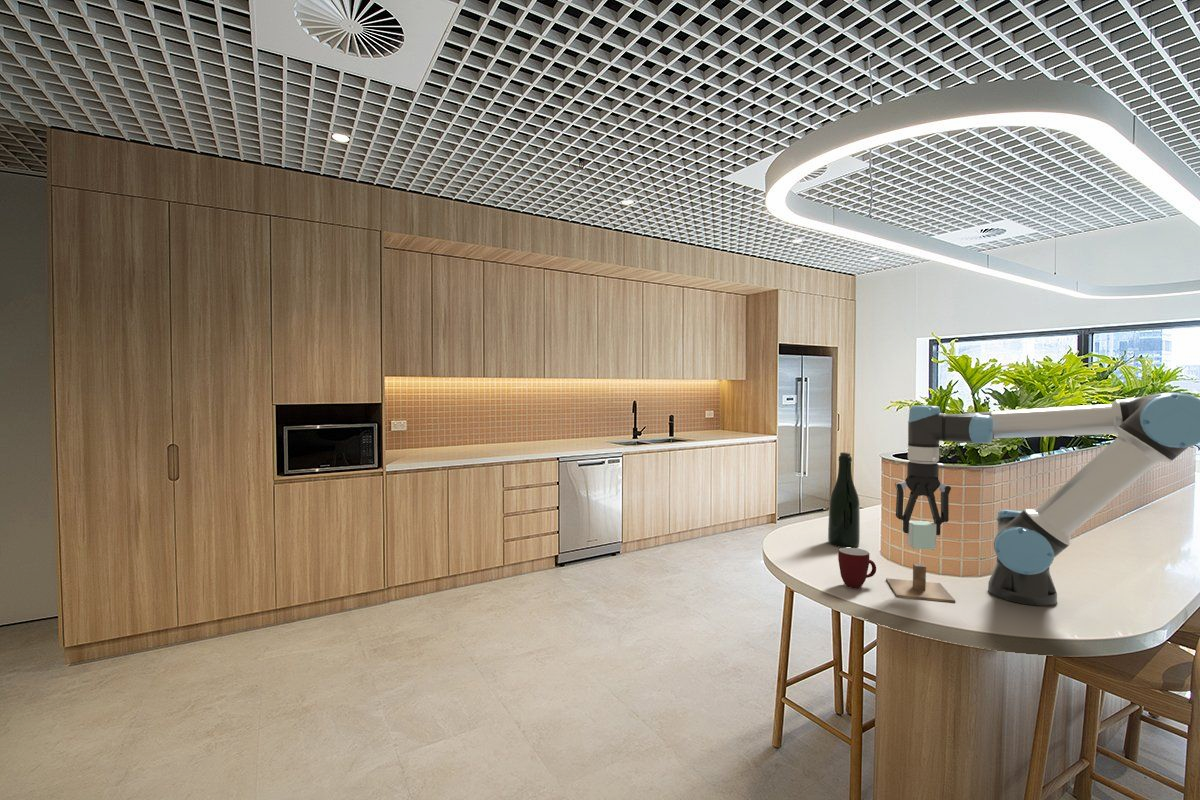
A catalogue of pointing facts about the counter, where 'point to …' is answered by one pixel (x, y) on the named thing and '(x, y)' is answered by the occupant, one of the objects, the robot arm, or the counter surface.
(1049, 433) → the robot arm
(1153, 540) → the counter surface
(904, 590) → the brown square plate
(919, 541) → the pale green block
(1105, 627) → the counter surface
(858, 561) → the mug
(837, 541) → the dark green wine bottle
